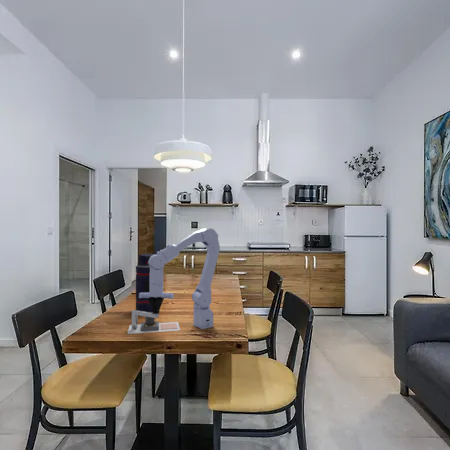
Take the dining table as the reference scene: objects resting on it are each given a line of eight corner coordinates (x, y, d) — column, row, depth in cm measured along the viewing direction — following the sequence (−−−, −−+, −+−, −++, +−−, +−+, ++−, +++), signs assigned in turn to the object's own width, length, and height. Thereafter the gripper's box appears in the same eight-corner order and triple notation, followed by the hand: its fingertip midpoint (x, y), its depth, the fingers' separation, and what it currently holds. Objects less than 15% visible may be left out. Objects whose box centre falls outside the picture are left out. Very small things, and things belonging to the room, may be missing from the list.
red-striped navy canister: (163, 311, 167) (163, 254, 168) (144, 315, 159) (144, 255, 159) (148, 306, 177) (148, 252, 177) (129, 310, 168) (129, 254, 168)
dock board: (178, 323, 146) (178, 318, 146) (180, 332, 135) (180, 326, 135) (129, 326, 142) (129, 321, 142) (127, 335, 130) (127, 330, 130)
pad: (176, 323, 144) (176, 323, 144) (177, 328, 137) (177, 328, 137) (160, 324, 142) (160, 324, 142) (160, 329, 135) (160, 329, 135)
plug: (156, 328, 137) (156, 314, 137) (147, 330, 135) (146, 315, 135) (152, 325, 141) (152, 312, 141) (143, 327, 138) (143, 313, 138)
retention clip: (130, 328, 136) (130, 311, 136) (134, 326, 138) (134, 309, 138) (155, 333, 130) (155, 314, 130) (159, 331, 132) (159, 313, 132)
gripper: (175, 281, 138) (175, 313, 138) (143, 281, 139) (143, 312, 139) (171, 284, 131) (171, 317, 131) (137, 284, 132) (137, 316, 132)
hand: (156, 315), depth 134 cm, fingers closed
